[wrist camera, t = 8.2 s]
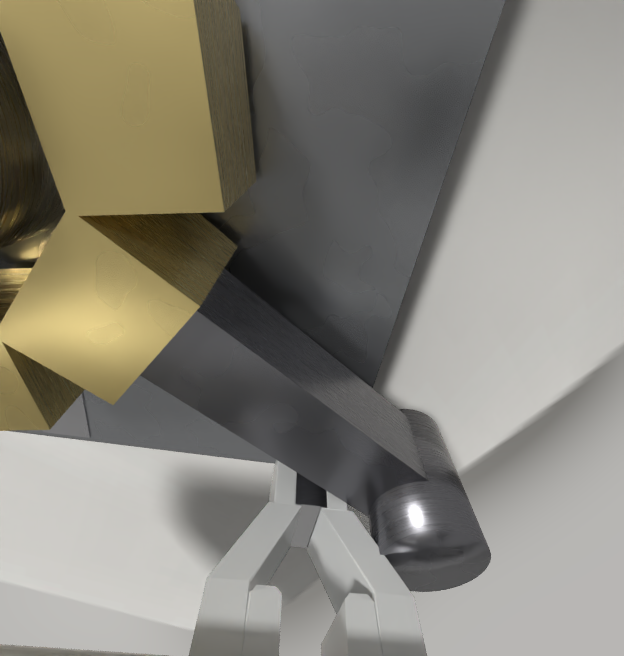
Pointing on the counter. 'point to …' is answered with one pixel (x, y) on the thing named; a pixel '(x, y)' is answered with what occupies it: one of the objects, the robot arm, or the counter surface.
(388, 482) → the geared lever handle
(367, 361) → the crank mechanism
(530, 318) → the counter surface
